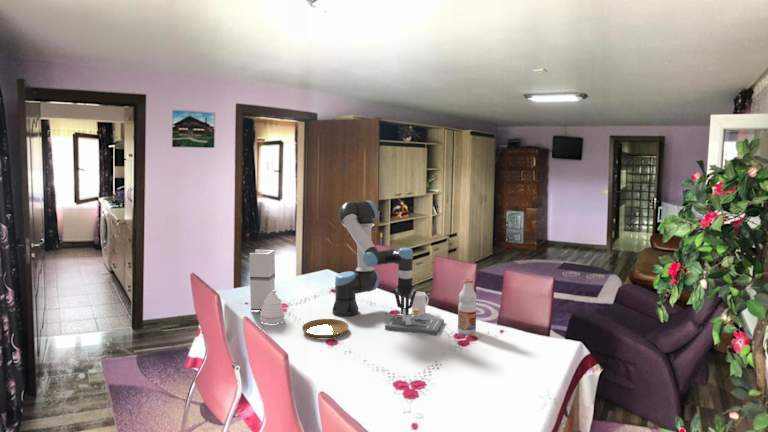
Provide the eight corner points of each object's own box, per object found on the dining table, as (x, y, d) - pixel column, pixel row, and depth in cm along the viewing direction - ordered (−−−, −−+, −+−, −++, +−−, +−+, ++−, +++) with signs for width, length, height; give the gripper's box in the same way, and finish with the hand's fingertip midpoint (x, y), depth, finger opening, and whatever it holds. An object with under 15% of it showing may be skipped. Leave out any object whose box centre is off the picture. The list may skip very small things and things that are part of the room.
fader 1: (405, 324, 280) (405, 315, 279) (406, 322, 283) (406, 313, 282) (410, 325, 279) (410, 315, 278) (411, 323, 282) (411, 314, 281)
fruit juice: (459, 327, 283) (460, 277, 279) (476, 329, 280) (478, 278, 276) (456, 333, 274) (457, 281, 270) (474, 335, 271) (476, 282, 268)
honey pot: (289, 321, 291) (288, 289, 289) (269, 326, 282) (268, 294, 280) (275, 315, 300) (274, 285, 298) (256, 321, 291) (255, 289, 288)
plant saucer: (330, 344, 259) (330, 338, 258) (292, 335, 271) (292, 328, 271) (357, 330, 279) (357, 324, 279) (321, 321, 292) (321, 316, 291)
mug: (424, 309, 314) (424, 289, 313) (433, 313, 307) (433, 293, 306) (408, 312, 308) (408, 292, 306) (416, 316, 301) (417, 296, 299)
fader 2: (413, 319, 288) (413, 310, 288) (414, 317, 292) (414, 308, 291) (418, 319, 288) (418, 310, 287) (419, 317, 291) (419, 308, 290)
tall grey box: (275, 307, 316) (274, 250, 311) (270, 312, 305) (268, 253, 301) (257, 306, 317) (255, 249, 312) (251, 312, 306) (249, 253, 302)
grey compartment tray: (384, 329, 280) (384, 325, 279) (394, 317, 299) (395, 314, 298) (436, 335, 272) (436, 331, 271) (443, 322, 291) (443, 319, 290)
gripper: (391, 278, 276) (391, 321, 279) (415, 280, 272) (414, 323, 276) (395, 274, 283) (394, 316, 286) (418, 276, 280) (418, 319, 283)
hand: (404, 320), depth 281 cm, fingers closed
